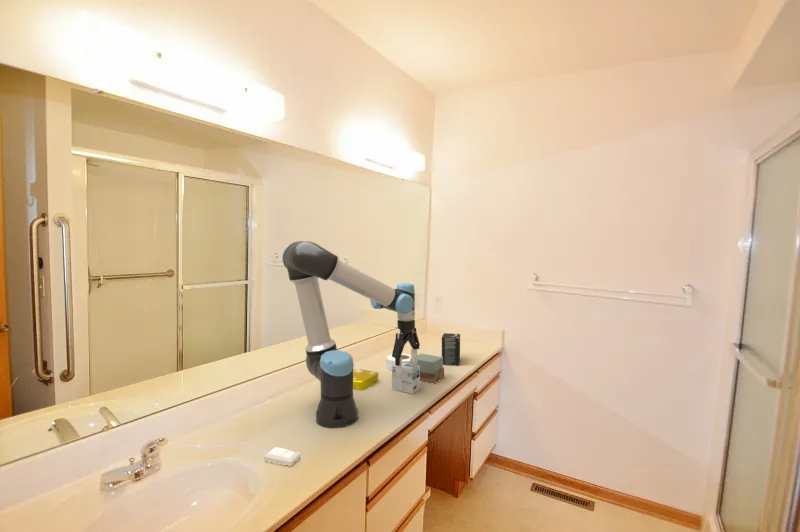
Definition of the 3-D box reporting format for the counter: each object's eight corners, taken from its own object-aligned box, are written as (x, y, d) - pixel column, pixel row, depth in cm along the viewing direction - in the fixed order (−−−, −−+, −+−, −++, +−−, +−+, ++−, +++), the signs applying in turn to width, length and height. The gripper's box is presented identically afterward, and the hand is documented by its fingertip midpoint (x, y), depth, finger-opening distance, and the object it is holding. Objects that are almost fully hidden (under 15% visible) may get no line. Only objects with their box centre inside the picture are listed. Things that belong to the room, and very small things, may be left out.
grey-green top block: (433, 373, 183) (433, 362, 183) (410, 368, 189) (410, 358, 189) (442, 367, 192) (443, 357, 191) (420, 363, 198) (420, 353, 198)
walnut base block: (434, 385, 182) (434, 374, 182) (408, 380, 189) (409, 369, 188) (444, 378, 192) (444, 367, 191) (419, 373, 198) (419, 363, 198)
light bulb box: (420, 389, 175) (420, 365, 175) (412, 394, 170) (412, 369, 169) (399, 385, 181) (399, 361, 180) (391, 389, 175) (391, 365, 175)
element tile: (333, 386, 180) (333, 375, 180) (353, 376, 194) (353, 366, 193) (362, 392, 173) (362, 381, 173) (380, 381, 187) (380, 371, 186)
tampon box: (459, 366, 209) (459, 338, 208) (441, 365, 211) (441, 337, 210) (460, 360, 220) (460, 333, 219) (443, 359, 222) (443, 332, 221)
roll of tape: (394, 361, 218) (394, 351, 217) (421, 365, 211) (421, 354, 210) (380, 369, 203) (380, 358, 203) (409, 374, 197) (409, 362, 196)
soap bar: (274, 454, 122) (274, 445, 122) (300, 459, 119) (300, 450, 119) (263, 462, 117) (263, 453, 117) (290, 468, 114) (290, 459, 114)
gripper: (398, 325, 161) (399, 378, 162) (427, 315, 182) (427, 361, 184) (383, 324, 165) (383, 375, 166) (412, 313, 186) (412, 359, 188)
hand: (406, 368), depth 175 cm, fingers open, 13 cm apart
